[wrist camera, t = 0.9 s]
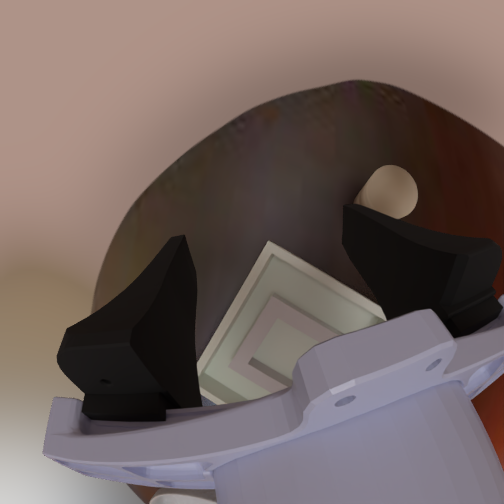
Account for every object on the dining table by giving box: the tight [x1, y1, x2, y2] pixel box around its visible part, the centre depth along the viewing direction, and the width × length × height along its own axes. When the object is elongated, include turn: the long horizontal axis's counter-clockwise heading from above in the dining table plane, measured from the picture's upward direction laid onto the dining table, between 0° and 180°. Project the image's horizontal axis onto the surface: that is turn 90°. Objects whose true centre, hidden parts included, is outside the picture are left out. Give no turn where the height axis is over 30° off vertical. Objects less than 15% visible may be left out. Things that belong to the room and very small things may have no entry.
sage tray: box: [197, 241, 387, 405], centre depth 26 cm, size 14×17×4 cm
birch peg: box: [353, 165, 418, 219], centre depth 22 cm, size 4×4×8 cm
